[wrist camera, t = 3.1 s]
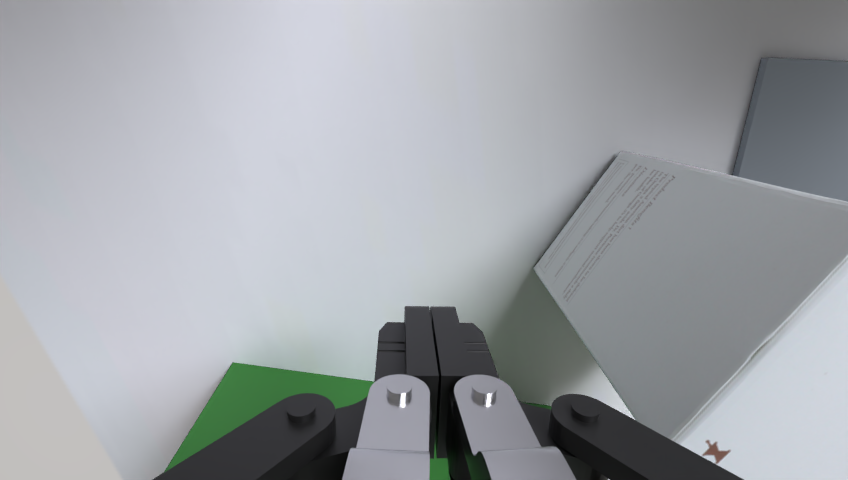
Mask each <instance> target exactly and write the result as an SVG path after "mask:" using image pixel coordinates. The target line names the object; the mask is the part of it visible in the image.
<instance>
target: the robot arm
mask: <svg viewBox="0 0 848 480" xmlns="http://www.w3.org/2000/svg"><path fill="white" fill-rule="evenodd" d="M435 446H436V456H437V458H447V459H448V467H449V468H448V480H608V479H610V480H744V479H742V478H740V477H738V476H737V475H735V474H733V473H731V472H729V471H727V470H726V469H724V468H722V467H720V466H718V465H716V464H714V463H713V462H711V461H709V460H707V459H705V458H703V457H702V456H700V455H698V454H696V453H694V452H692V451H691V450H689V449H687V448H685V447H683V446H681V445H680V444H678V443H676V442H674V441H672V440H670V439H669V438H667V437H665V436H663V435H661V434H659V433H658V432H656V431H654V430H652V429H650V428H648V427H647V426H645V425H643V424H641V423H639V422H637V421H636V420H634V419H632V418H630V417H628V416H626V415H625V414H623V413H621V412H619V411H617V410H615V409H614V408H612V407H610V406H608V405H606V404H604V403H603V402H601V401H599V400H597V399H594V398H592V397H588V396H585V395H579V394H567V395H563V396H560V397H558V398H556V399H555V400H554V402H553V403H552V407H551V410H550V409H546V408H541V407H537V406H532V405H528V404H526V403H523V402H520V401H518V400H517V398H516V396H515V394H514V392H513V390H512V389H511V387H510V386H509V385H508V384H507V383H505V382H504V381H502V380H500V379H499V377H498V374H497V372H496V369H495V366H494V363H493V360H492V357H491V354H490V353H489V349H488V346H487V344H486V340H485V337H484V335H483V332H482V331H481V330H480V329H479V328H477V327H476V326H475V325H474V324H473V323H459V320H458V316H457V313H456V309H455V307H430V310H429V307H424V306H405V315H404V323H400V322H387V323H386V324H385V325H384V326H383V327H382V328H381V330H380V331H379V337H378V349H377V360H376V371H375V382H374V383H373V384H372V386H371V387H370V390H369V393H368V396H367V397H366V398H364V399H363V400H361V401H359V402H357V403H355V404H352V405H349V406H345V407H341V408H337V409H335V406H334V404H333V403H332V402H331V400H329V399H328V398H327V397H325V396H322V395H319V394H314V393H302V394H296V395H293V396H289V397H287V398H285V399H283V400H281V401H279V402H278V403H276V404H274V405H273V406H271V407H269V408H268V409H266V410H265V411H263V412H261V413H260V414H258V415H257V416H255V417H253V418H252V419H250V420H248V421H247V422H245V423H244V424H242V425H240V426H239V427H237V428H235V429H234V430H232V431H231V432H229V433H227V434H226V435H224V436H222V437H221V438H219V439H218V440H216V441H214V442H213V443H211V444H209V445H208V446H206V447H205V448H203V449H201V450H200V451H198V452H197V453H195V454H193V455H192V456H190V457H188V458H187V459H185V460H184V461H182V462H180V463H179V464H177V465H175V466H174V467H172V468H171V469H169V470H167V471H166V472H164V473H162V474H161V475H159V476H158V477H156V478H154V479H153V480H429V475H430V459H434V450H435Z"/></svg>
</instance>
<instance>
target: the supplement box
mask: <svg viewBox="0 0 848 480" xmlns="http://www.w3.org/2000/svg"><path fill="white" fill-rule="evenodd" d="M534 271H535V272H536V274H537V275H538V277H539V278H540V280H541V281H542V283H543V284H544V286H545V287H546V289H547V290H548V292H549V293H550V294H551V296H552V298H553V299H554V300H555V302H556V303H557V305H558V306H559V308H560V309H561V310H562V312H563V313H564V315H565V316H566V318H567V319H568V321H569V322H570V324H571V325H572V327H573V328H574V330H575V331H576V333H577V334H578V336H579V337H580V339H581V340H582V342H583V343H584V344H585V346H586V347H587V349H588V350H589V352H590V353H591V355H592V356H593V358H594V359H595V361H596V362H597V364H598V365H599V367H600V368H601V370H602V371H603V373H604V374H605V375H606V377H607V378H608V380H609V381H610V383H611V384H612V386H613V387H614V389H615V390H616V392H617V393H618V394H619V396H620V397H621V399H622V400H623V402H624V403H625V405H626V406H627V408H628V409H629V411H630V412H631V414H632V415H633V417H634V418H635V420H636V421H637V422H639V423H641V424H643V425H645V426H647V427H648V428H650V429H652V430H654V431H656V432H658V433H659V434H661V435H663V436H665V437H667V438H669V439H670V440H672V441H674V442H676V443H678V444H680V445H681V446H683V447H685V448H687V449H689V450H691V451H692V452H694V453H696V454H698V455H700V456H702V457H703V458H705V459H707V460H709V461H711V462H713V463H714V464H716V465H718V466H720V467H722V468H724V469H726V470H727V471H729V472H731V473H733V474H735V475H737V476H738V477H740V478H742V479H744V480H848V202H846V201H842V200H837V199H832V198H828V197H823V196H818V195H814V194H809V193H805V192H801V191H796V190H792V189H787V188H783V187H779V186H775V185H771V184H766V183H762V182H758V181H754V180H749V179H745V178H741V177H737V176H732V175H728V174H724V173H720V172H716V171H712V170H707V169H703V168H699V167H694V166H690V165H686V164H682V163H677V162H673V161H668V160H664V159H660V158H655V157H649V156H644V155H640V154H636V153H631V152H625V151H621V152H620V153H619V155H618V156H617V157H616V159H615V160H614V161H613V163H612V164H611V165H610V167H609V168H608V169H607V170H606V172H605V173H604V174H603V176H602V177H601V178H600V180H599V181H598V182H597V184H596V185H595V186H594V188H593V189H592V190H591V192H590V193H589V194H588V196H587V197H586V198H585V200H584V201H583V203H582V204H581V205H580V207H579V208H578V209H577V211H576V212H575V213H574V215H573V216H572V217H571V219H570V220H569V221H568V223H567V224H566V225H565V227H564V228H563V229H562V231H561V232H560V233H559V235H558V236H557V237H556V239H555V240H554V242H553V243H552V244H551V246H550V247H549V248H548V250H547V251H546V252H545V254H544V255H543V256H542V258H541V259H540V260H539V262H538V263H537V264H536V266H535V267H534Z"/></svg>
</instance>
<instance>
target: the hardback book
mask: <svg viewBox="0 0 848 480" xmlns="http://www.w3.org/2000/svg"><path fill="white" fill-rule="evenodd" d="M373 383H374V382H372V381H365V380H357V379H350V378H343V377H335V376H328V375H321V374H313V373H306V372H299V371H292V370H284V369H277V368H270V367H262V366H255V365H248V364H240V363H232V365H231V366H230V368H229V370H228V371H227V373H226V374H225V376H224V377H223V379H222V381H221V382H220V384H219V385H218V387H217V389H216V390H215V392H214V393H213V395H212V397H211V398H210V400H209V401H208V403H207V405H206V406H205V408H204V409H203V411H202V413H201V414H200V416H199V417H198V419H197V421H196V422H195V424H194V425H193V427H192V429H191V430H190V432H189V433H188V435H187V437H186V438H185V440H184V441H183V443H182V444H181V446H180V448H179V449H178V451H177V452H176V454H175V456H174V457H173V459H172V460H171V462H170V464H169V465H168V467H167V468H166V470H165V472H166V471H167V470H169V469H171V468H172V467H174V466H175V465H177V464H179V463H180V462H182V461H184V460H185V459H187V458H188V457H190V456H192V455H193V454H195V453H197V452H198V451H200V450H201V449H203V448H205V447H206V446H208V445H209V444H211V443H213V442H214V441H216V440H218V439H219V438H221V437H222V436H224V435H226V434H227V433H229V432H231V431H232V430H234V429H235V428H237V427H239V426H240V425H242V424H244V423H245V422H247V421H248V420H250V419H252V418H253V417H255V416H257V415H258V414H260V413H261V412H263V411H265V410H266V409H268V408H269V407H271V406H273V405H274V404H276V403H278V402H279V401H281V400H283V399H285V398H287V397H289V396H293V395H296V394H302V393H314V394H319V395H322V396H325V397H327V398H328V399H329V400H331V402H332V403H333V404H334V406H335V409H337V408H341V407H345V406H349V405H352V404H355V403H357V402H359V401H361V400H363V399H364V398H366V397H367V396H368V393H369V390H370V387H371V386H372V384H373ZM523 403H525V402H523ZM526 404H528V405H532V406H537V407H541V408H546V409H550V410H551V406H547V405H540V404H533V403H526ZM448 468H449V467H448V459H447V458H437V456H436V446H435V450H434V459H430V475H429V480H448Z"/></svg>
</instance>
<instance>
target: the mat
mask: <svg viewBox="0 0 848 480" xmlns="http://www.w3.org/2000/svg"><path fill="white" fill-rule="evenodd" d="M733 176H737V177H741V178H745V179H749V180H754V181H758V182H762V183H766V184H771V185H775V186H779V187H783V188H787V189H792V190H796V191H801V192H805V193H809V194H814V195H818V196H823V197H828V198H832V199H837V200H842V201H846V202H848V61H834V60H812V59H791V58H770V57H768V58H762V59H761V63H760V67H759V71H758V75H757V79H756V83H755V87H754V91H753V95H752V99H751V103H750V107H749V111H748V115H747V119H746V123H745V127H744V131H743V135H742V139H741V143H740V147H739V151H738V155H737V159H736V163H735V167H734V171H733Z"/></svg>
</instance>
